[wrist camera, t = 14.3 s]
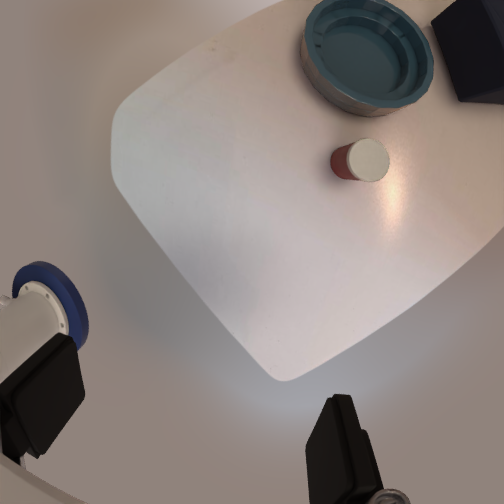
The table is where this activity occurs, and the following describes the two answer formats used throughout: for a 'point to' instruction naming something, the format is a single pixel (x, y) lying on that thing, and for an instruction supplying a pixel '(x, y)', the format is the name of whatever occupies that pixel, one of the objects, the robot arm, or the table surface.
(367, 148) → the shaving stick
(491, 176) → the table surface
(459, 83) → the speaker
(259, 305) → the table surface
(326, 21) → the basin
